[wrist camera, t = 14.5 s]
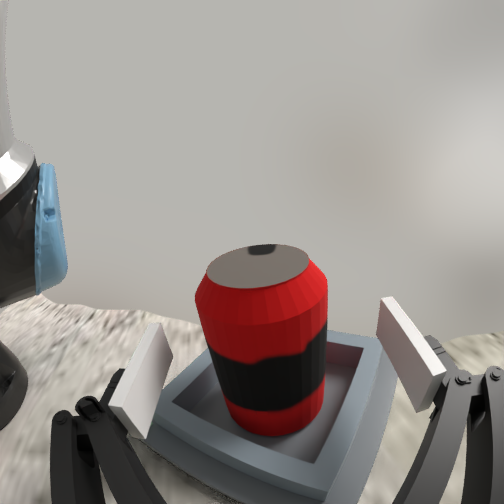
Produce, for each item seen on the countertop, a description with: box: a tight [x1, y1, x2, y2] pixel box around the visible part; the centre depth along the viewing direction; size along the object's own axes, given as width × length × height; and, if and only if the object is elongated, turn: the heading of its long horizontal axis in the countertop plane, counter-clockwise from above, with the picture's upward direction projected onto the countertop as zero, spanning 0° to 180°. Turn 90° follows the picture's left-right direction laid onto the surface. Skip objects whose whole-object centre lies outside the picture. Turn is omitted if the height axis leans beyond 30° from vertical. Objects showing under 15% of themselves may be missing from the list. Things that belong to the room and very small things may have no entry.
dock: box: [138, 330, 398, 504], centre depth 19 cm, size 18×18×4 cm
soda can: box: [195, 244, 328, 436], centre depth 17 cm, size 8×8×12 cm
